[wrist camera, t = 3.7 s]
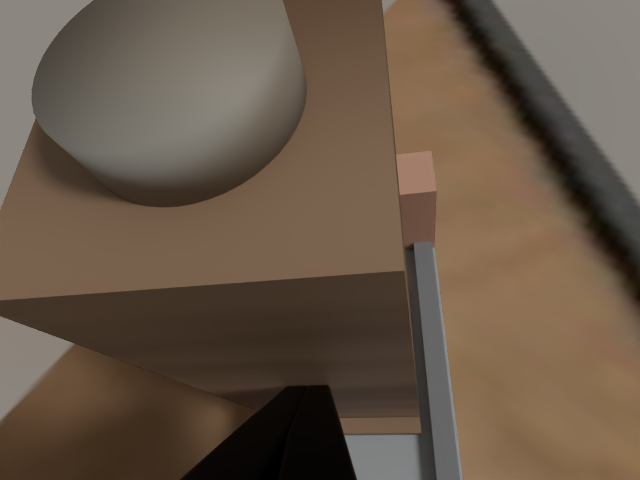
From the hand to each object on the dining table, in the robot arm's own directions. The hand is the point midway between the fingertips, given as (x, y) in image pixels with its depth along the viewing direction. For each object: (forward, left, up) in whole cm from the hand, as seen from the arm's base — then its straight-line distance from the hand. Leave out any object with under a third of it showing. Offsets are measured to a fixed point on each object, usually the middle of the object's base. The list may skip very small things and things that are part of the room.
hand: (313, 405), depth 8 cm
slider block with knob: (+2, 0, -6) cm, 6 cm away
